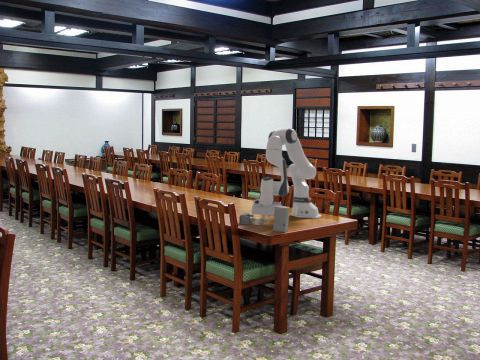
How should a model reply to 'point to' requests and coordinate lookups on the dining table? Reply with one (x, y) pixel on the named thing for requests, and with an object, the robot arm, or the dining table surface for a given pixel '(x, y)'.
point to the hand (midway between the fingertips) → (266, 221)
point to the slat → (256, 221)
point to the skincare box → (281, 218)
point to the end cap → (245, 218)
